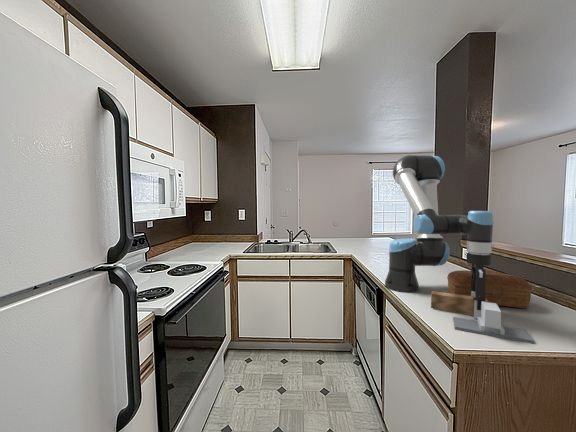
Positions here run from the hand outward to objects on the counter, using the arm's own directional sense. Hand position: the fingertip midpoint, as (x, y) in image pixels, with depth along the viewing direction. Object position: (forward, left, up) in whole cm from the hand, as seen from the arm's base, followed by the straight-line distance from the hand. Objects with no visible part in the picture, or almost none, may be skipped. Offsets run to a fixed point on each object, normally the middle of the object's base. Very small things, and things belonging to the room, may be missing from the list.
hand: (476, 313), depth 104 cm
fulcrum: (+2, -14, 0) cm, 14 cm away
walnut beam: (-6, 0, -1) cm, 6 cm away
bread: (+5, +18, -1) cm, 19 cm away
